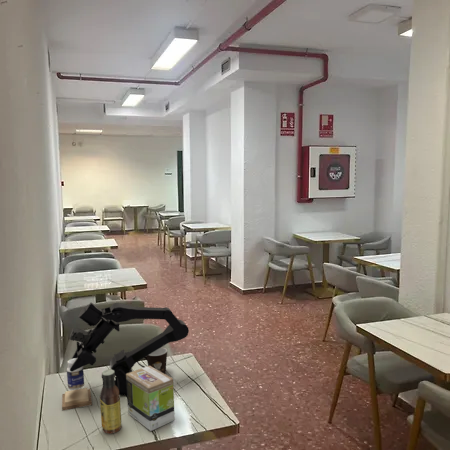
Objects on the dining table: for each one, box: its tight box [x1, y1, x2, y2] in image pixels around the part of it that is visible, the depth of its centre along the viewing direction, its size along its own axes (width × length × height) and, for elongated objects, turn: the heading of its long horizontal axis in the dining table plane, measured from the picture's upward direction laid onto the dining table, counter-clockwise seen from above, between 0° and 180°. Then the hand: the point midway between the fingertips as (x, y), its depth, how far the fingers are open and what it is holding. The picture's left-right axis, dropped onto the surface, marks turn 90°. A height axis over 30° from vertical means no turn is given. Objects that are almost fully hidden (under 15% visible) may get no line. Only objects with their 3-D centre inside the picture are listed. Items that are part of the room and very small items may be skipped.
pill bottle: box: [66, 358, 85, 391], centre depth 159 cm, size 6×6×10 cm
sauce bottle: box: [99, 368, 122, 435], centre depth 140 cm, size 6×6×20 cm
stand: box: [61, 387, 93, 411], centre depth 160 cm, size 10×10×2 cm
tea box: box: [126, 365, 176, 432], centre depth 147 cm, size 15×10×15 cm, turn 41°
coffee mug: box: [136, 346, 168, 375], centre depth 179 cm, size 12×9×10 cm
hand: (70, 367), depth 158 cm, fingers open, 6 cm apart
